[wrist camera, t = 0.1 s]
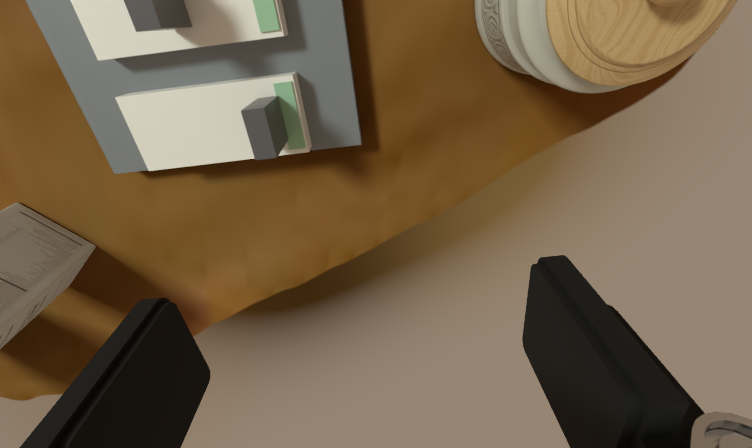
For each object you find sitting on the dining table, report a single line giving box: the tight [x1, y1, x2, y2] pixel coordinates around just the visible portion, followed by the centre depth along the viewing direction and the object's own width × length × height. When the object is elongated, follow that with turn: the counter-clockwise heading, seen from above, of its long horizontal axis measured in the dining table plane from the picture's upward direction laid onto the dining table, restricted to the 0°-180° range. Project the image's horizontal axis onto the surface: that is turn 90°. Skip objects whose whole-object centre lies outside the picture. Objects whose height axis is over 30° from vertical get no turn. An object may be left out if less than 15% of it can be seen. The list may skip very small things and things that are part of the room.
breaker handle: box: [241, 96, 288, 160], centre depth 31 cm, size 4×2×5 cm, turn 7°
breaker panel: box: [26, 0, 362, 174], centre depth 33 cm, size 18×26×5 cm
